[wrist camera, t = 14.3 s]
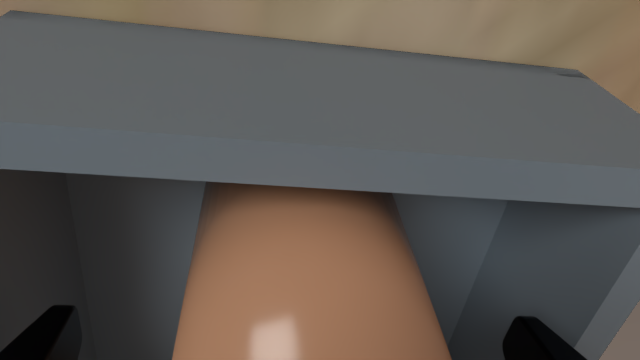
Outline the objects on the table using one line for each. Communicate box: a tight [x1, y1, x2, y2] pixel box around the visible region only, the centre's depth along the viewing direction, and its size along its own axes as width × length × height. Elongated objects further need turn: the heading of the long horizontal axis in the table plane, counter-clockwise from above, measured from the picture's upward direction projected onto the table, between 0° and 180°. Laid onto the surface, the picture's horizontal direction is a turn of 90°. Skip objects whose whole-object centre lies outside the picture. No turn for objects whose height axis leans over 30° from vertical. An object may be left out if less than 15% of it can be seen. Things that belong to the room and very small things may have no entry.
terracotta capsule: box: [172, 181, 452, 360], centre depth 11 cm, size 5×5×7 cm
